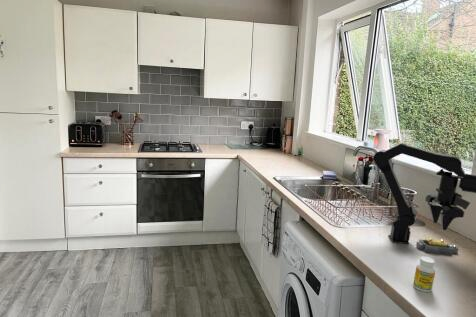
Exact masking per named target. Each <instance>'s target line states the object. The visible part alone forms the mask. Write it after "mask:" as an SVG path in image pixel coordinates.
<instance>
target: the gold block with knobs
mask: <svg viewBox="0 0 476 317" xmlns="http://www.w3.org/2000/svg"><path fill="white" fill-rule="evenodd" d="M424 240H425V244H426V245H429V246H438V247H447V244H448V243H447V242H446V241H445V239H443V238H441V239H438V238H433V237H426V238H425V239H424Z"/></svg>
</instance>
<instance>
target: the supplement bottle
mask: <svg viewBox="0 0 476 317" xmlns="http://www.w3.org/2000/svg"><path fill="white" fill-rule="evenodd" d="M435 263H436V262H435V259H433V258H431V257H429V256H428V257H427V256H421V257H420V258H419V262H418V263H417V264H416V265H415V266H416V267H415V272H414V276H413V277H414V278H413V281H412V282H413V283H412V286H413V287H414V288H415V289H416V290H418V291H419V292H420V291H421V292H423V293H428V292H432V290H433V285H434V282H435V280H434V279H435V277H436V276H435V275H436V268H435Z"/></svg>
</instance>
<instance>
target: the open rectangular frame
mask: <svg viewBox="0 0 476 317" xmlns="http://www.w3.org/2000/svg"><path fill="white" fill-rule="evenodd" d="M457 246H458V245H455V244H448V243H447V247H438V246H429V245H426V244H425V239H421V238H420V239H418V241H416V244H415V247H416V248H417V249H418V250H421V251H422V250H423V252H425V253H433V254H442V255H449V256H450V255H451V256H452V255H453V254H456V255H458V252H459V248H458V247H457Z"/></svg>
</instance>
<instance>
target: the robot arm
mask: <svg viewBox="0 0 476 317" xmlns="http://www.w3.org/2000/svg"><path fill="white" fill-rule="evenodd" d="M400 155H406V156H409V157H412V158H416V159H419V160H422V161H425V162H429V163H432V164H434V165H435V166H437V167H438V168H441V169H440V170H438V171H436V173H435V175H437V176H440V180H439V186H438V187H436V188H435V189H436V192H437V195H436V194H427V196H426V197H425V202H426V203H427V205H428V208H429V211H430V214H431V218H432V221H433V223H434V224H437V223H438V221H439V218H440V222H441V228H442V230H443V231H446V230H447V229H448V228H449V226H450V224H452V222H453V220H455V219H456V218H457V219H458V218H464V216H465V211H464V210H467V209H468V208H469V206H470V204H471V202H469V201H468V200H466V199H464V198H463V195H461V194H460V193H458V192H457V186H458V188H460V189H461V192H465V193H466V192H467V193H472V194H476V174H472V173H471V174H470V173H465V170H464V169H463V167H462V160H461V158H460V157H459V156H457V155H456V154H455V155H454V154H446V153H437V152H432V151H429V150H426V149H423V148H419V147H416V146H412V145H409V144H407V143H405V142H401V143H399V144H397V145H396V146H393V147H390V148H389V149H381V150H379V151H377V152H376V153H375V154H374V155H373V158H372V160H373V162H374V164H375V165H376V167H377V168H378V169H379V171H380V172H382V174H383V176H384V179H385V180H386V183H387V185H388V188H389V190H390V192H391V194H392V197H393V200H394V201H395V204H396V208H397V209H396V210H397V214H398V215H397V216H395V218H394V219H393V222H392V223H391V228H390V233H389V235H388V237H389V239H390V240H391V241H392V242H393V243H397V244H398V243H399V244H407V245H408V244H410V242H409V241H410V237H411V233H412V232H411V227H412V226H414V224H415V222H416V220H417V215H418V211H417V209H416V208H415V204H414V203H411V204H410V203H409V202H408V200H407V198H406V196H405V194H404V191H403V189H402V186H401V185H400V182H399V180H398V178H397V175H396V173H395V171H394V167H393V160H392V159H394V158H396V157H398V156H400ZM453 173H454V174H453ZM458 182H459V183H458ZM458 206H459V207H458ZM463 209H464V210H463ZM441 211H442V212H441Z"/></svg>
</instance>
